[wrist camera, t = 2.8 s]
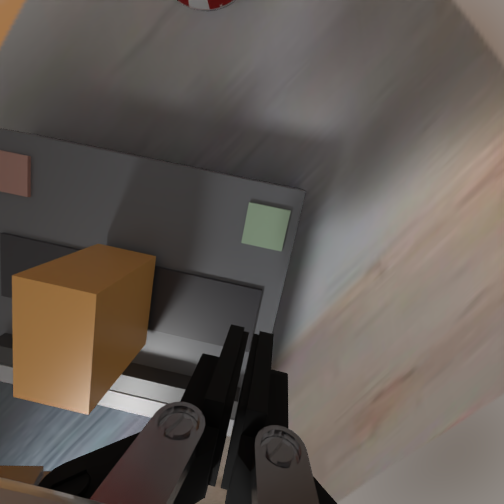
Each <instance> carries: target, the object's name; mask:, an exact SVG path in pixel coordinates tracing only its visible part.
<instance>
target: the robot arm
mask: <svg viewBox="0 0 504 504" xmlns="http://www.w3.org/2000/svg"><path fill="white" fill-rule="evenodd" d="M244 328H245V327H241V326H237V325H233V324H231V326H230V329H229V331H228V334H227V337H226V340H225V343H224V345H223V348H222V351H221V354H220V357H217V356H213V355H209V354H204V353H203V354H202V355H201V357H200V360H199V362H198V364H197V366H196V368H195V370H194V373H193V375H192V377H191V379H190V381H189V383H188V386H187V388H186V390H185V392H184V394H183V396H182V399H181V401H180V402H173V403H169V404H166V405H164V406H163V407H161V408H160V409H159V410H158V411H157V412H156V413H155V414H154V415H153V417H152V418H151V419H150V421H149V422H148V423H147V424H146V426H145V427H144V428H143V430H142V431H141V432H139V433H137V434H134V435H132V436H129V437H127V438H124V439H122V440H120V441H117V442H115V443H112V444H110V445H107V446H105V447H103V448H100V449H98V450H95V451H93V452H90V453H88V454H86V455H83V456H81V457H78V458H76V459H73V460H71V461H69V462H66V463H64V464H62V465H60V466H59V467H57V468H55V469H53V470H52V471H43V466H0V504H195V503H197V502H198V501H200V500H201V499H203V498H205V495H206V491H207V487H208V485H211V486H215V484H216V480H217V475H218V471H219V466H220V462H221V457H222V453H223V449H224V444H225V440H226V435H227V431H228V426H229V422H230V417H231V413H232V409H233V404H234V400H235V395H236V391H237V386H238V381H239V377H240V372H241V368H242V363H243V358H244V354H245V349H246V345H247V340H248V335H249V332H246V331H244ZM272 346H273V334H271V333H267V332H263V331H260V332H259V334H253V338H252V342H251V347H250V351H249V356H248V360H247V365H246V369H245V374H244V378H243V383H242V387H241V392H240V397H239V401H238V406H237V411H236V416H235V421H234V426H233V431H232V435H231V440H230V445H229V450H228V455H227V460H226V465H225V469H224V474H223V479H222V484H221V488H222V489H226V490H227V495H226V501H225V504H337V503H336V502H335V501H334V500H333V498H332V497H331V496H330V495H329V494H328V493H327V492H326V490H325V489H324V488H323V487H322V486H321V485H320V484H319V482H318V481H317V480H316V479H315V478H314V477H313V474H312V470H311V466H310V461H309V457H308V453H307V449H306V447H305V444H304V442H303V441H302V440H301V438H300V437H299V436H298V435H297V434H296V433H294V432H293V431H292V430H290V429H288V374H287V373H284V372H280V371H275V370H271V360H272Z"/></svg>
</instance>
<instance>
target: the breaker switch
mask: <svg viewBox="0 0 504 504" xmlns="http://www.w3.org/2000/svg"><path fill="white" fill-rule="evenodd" d="M155 262H156V256H153V255H148V254H144V253H139V252H135V251H130V250H125V249H121V248H116V247H112V246H107V245H103V244H96V245H93V246H90V247H88V248H85V249H82V250H79V251H77V252H74V253H71V254H68V255H66V256H63V257H60V258H58V259H55V260H52V261H49V262H47V263H44V264H41V265H38V266H36V267H33V268H30V269H28V270H25V271H22V272H19V273H17V274H14V275H12V329H13V397H16V398H20V399H24V400H28V401H33V402H37V403H41V404H45V405H49V406H53V407H57V408H61V409H66V410H70V411H74V412H78V413H82V414H86V415H89V414H90V412H91V411H92V410H93V409H94V408H95V406H96V405H97V404H98V403H99V401H100V400H101V399H102V398H103V396H104V395H105V394H106V393H107V391H108V390H109V389H110V388H111V386H112V385H113V384H114V383H115V381H116V380H117V379H118V378H119V376H120V375H121V374H122V373H123V372H124V370H125V369H126V368H127V367H128V365H129V364H130V363H131V362H132V360H133V359H134V358H135V357H136V355H137V354H138V353H139V352H140V350H141V349H142V348H143V347H144V345H145V344H146V338H147V329H148V321H149V312H150V304H151V296H152V287H153V279H154V270H155Z"/></svg>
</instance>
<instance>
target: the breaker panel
mask: <svg viewBox="0 0 504 504" xmlns="http://www.w3.org/2000/svg"><path fill="white" fill-rule="evenodd" d="M305 194H306V191H304V190H302V189H299V188H294V187H289V186H284V185H279V184H274V183H270V182H265V181H260V180H255V179H250V178H245V177H240V176H235V175H231V174H226V173H221V172H216V171H211V170H206V169H201V168H196V167H192V166H187V165H182V164H177V163H172V162H167V161H162V160H158V159H153V158H148V157H143V156H138V155H133V154H128V153H123V152H119V151H114V150H109V149H104V148H99V147H94V146H89V145H84V144H80V143H75V142H70V141H65V140H60V139H55V138H50V137H46V136H41V135H36V134H31V133H25V132H19V131H14V130H8V129H2V128H0V381H1V382H6V383H10V384H13V329H12V275H14V274H17V273H19V272H22V271H25V270H28V269H30V268H33V267H36V266H38V265H41V264H44V263H47V262H49V261H52V260H55V259H58V258H60V257H63V256H66V255H68V254H71V253H74V252H77V251H79V250H82V249H85V248H88V247H90V246H93V245H96V244H103V245H107V246H112V247H116V248H121V249H125V250H130V251H135V252H139V253H144V254H148V255H153V256H156V262H155V270H154V279H153V287H152V296H151V304H150V312H149V321H148V329H147V338H146V344H145V345H144V347H143V348H142V349H141V350H140V352H139V353H138V354H137V355H136V357H135V358H134V359H133V360H132V362H131V363H130V364H129V365H128V367H127V368H126V369H125V370H124V372H123V373H122V374H121V375H120V376H119V378H118V379H117V380H116V381H115V383H114V384H113V385H112V386H111V388H110V389H109V390H108V391H107V393H106V394H105V395H104V396H103V398H102V399H101V400H100V401H99V403H98V404H97V405H101V406H105V407H109V408H114V409H118V410H122V411H126V412H130V413H134V414H139V415H143V416H147V417H151V418H152V417H153V415H154V414H155V413H156V412H157V411H158V410H159V409H160V408H161V407H163V406H164V405H166V404H169V403H173V402H180V401H181V399H182V396H183V394H184V392H185V390H186V388H187V386H188V383H189V381H190V379H191V377H192V375H193V373H194V370H195V368H196V366H197V364H198V362H199V360H200V357H201V355H202V354H203V353H204V354H209V355H213V356H217V357H220V354H221V351H222V348H223V345H224V343H225V340H226V337H227V334H228V331H229V329H230V326H231V324H233V325H237V326H241V327H245V328H244V331H246V332H249V335H248V340H247V345H246V349H245V354H244V358H243V363H242V368H241V372H240V377H239V381H238V386H237V391H236V395H235V400H234V404H233V409H232V413H231V417H230V422H229V426H228V431H227V435H226V436H231V431H232V427H233V426H234V421H235V416H236V411H237V406H238V401H239V397H240V392H241V387H242V383H243V378H244V374H245V369H246V365H247V360H248V356H249V351H250V347H251V342H252V338H253V334H259V332H260V331H263V332H267V333H271V334H272V331H273V327H274V323H275V319H276V315H277V311H278V306H279V302H280V298H281V294H282V290H283V286H284V281H285V277H286V273H287V269H288V265H289V261H290V256H291V252H292V248H293V244H294V240H295V236H296V231H297V227H298V223H299V219H300V215H301V211H302V206H303V202H304V198H305Z"/></svg>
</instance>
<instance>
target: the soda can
mask: <svg viewBox="0 0 504 504" xmlns="http://www.w3.org/2000/svg"><path fill="white" fill-rule="evenodd" d="M177 1H178V2H180V3H181V4H183V5H185V6H187V7H189V8H192V9H195V10H200V11H212V10H218V9H221V8H224V7H226V6H228V5H230V4H231V3H233V2H234V1H235V0H177Z"/></svg>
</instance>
